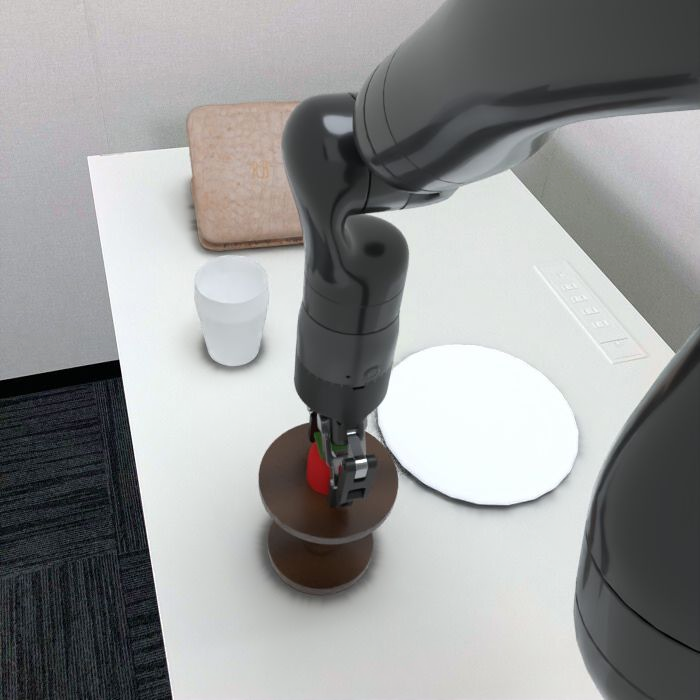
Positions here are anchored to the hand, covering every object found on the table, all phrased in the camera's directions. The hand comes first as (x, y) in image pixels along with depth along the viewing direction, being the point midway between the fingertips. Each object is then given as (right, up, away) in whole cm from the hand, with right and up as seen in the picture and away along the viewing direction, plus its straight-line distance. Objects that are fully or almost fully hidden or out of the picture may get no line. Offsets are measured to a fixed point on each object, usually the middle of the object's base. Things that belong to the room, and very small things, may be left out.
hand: (329, 469), depth 68 cm
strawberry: (0, -1, +1) cm, 1 cm away
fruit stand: (-1, -10, +10) cm, 14 cm away
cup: (-13, +11, +29) cm, 33 cm away
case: (-13, +33, +50) cm, 61 cm away
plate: (+17, +2, +24) cm, 30 cm away
